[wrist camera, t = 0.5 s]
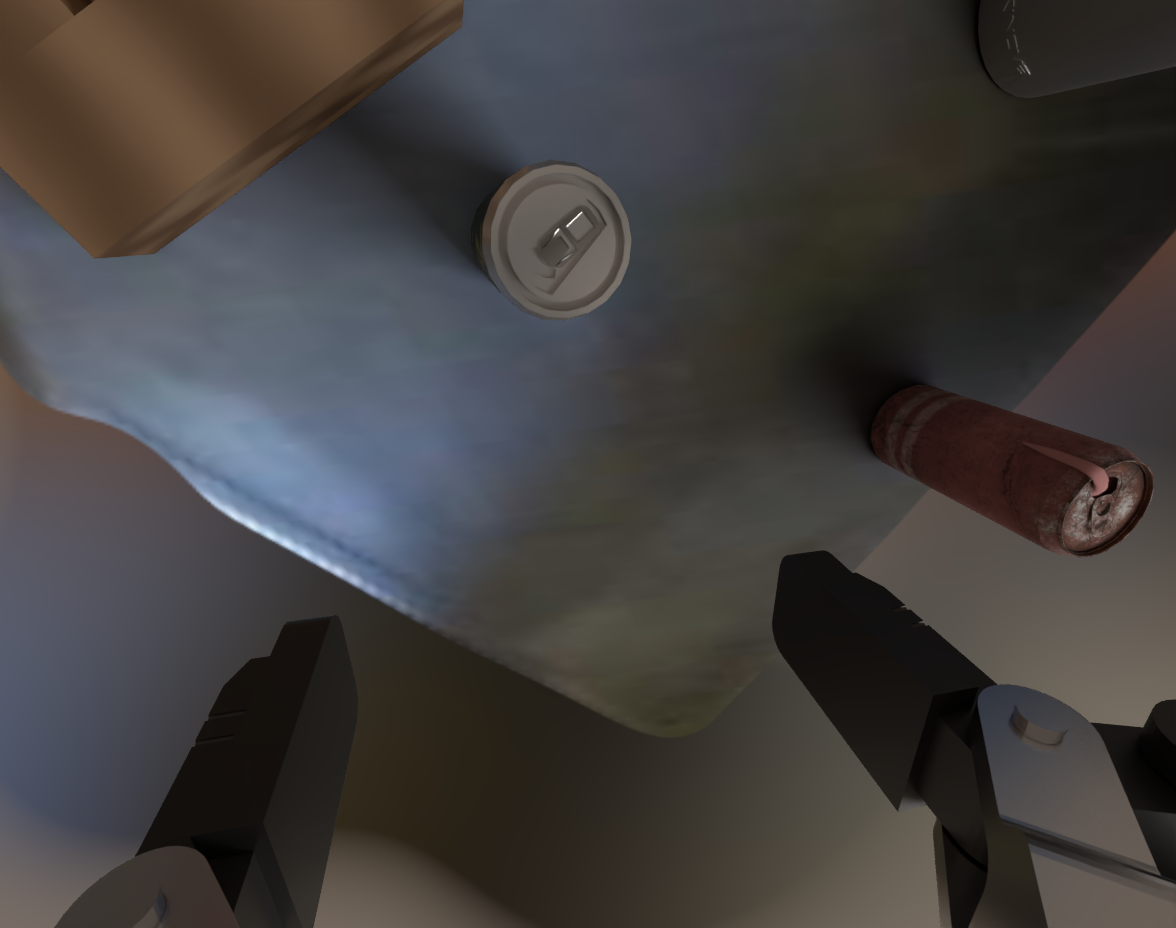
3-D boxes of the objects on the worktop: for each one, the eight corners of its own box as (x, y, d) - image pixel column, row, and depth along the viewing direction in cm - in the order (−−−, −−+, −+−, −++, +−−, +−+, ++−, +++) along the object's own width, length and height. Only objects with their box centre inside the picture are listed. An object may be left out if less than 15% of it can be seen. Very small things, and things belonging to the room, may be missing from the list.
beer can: (524, 160, 29) (570, 117, 18) (590, 246, 31) (666, 254, 20) (448, 233, 29) (448, 235, 18) (518, 312, 31) (555, 355, 21)
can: (913, 362, 39) (1138, 426, 26) (954, 417, 41) (1177, 499, 29) (849, 428, 40) (1037, 521, 27) (894, 478, 42) (1084, 583, 30)
